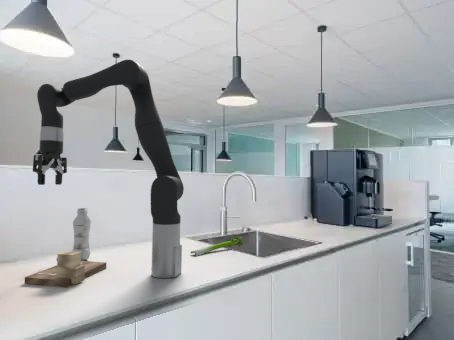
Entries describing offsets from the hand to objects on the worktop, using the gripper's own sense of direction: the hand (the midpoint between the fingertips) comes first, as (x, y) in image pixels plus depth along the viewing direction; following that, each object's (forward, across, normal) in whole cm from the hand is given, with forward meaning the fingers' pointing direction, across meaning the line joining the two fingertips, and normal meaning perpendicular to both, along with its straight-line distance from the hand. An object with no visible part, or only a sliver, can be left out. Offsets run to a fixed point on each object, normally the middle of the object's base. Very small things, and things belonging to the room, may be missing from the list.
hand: (50, 184), depth 116 cm
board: (+29, -8, -15) cm, 34 cm away
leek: (+30, +40, -55) cm, 74 cm away
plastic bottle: (+30, +9, -7) cm, 32 cm away
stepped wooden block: (+29, -15, -20) cm, 38 cm away
